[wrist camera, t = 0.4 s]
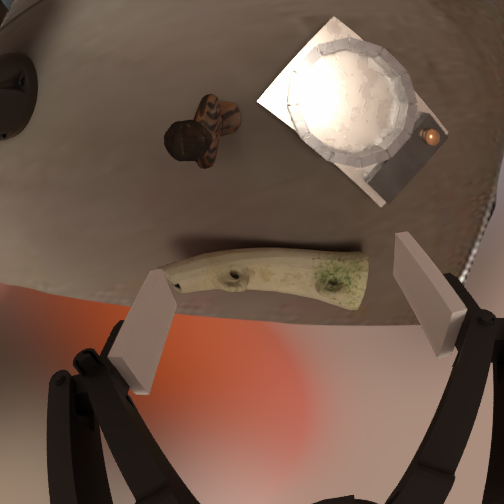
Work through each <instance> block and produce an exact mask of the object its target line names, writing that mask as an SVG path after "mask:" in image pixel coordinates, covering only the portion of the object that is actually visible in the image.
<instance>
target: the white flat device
mask: <svg viewBox="0 0 504 504" xmlns="http://www.w3.org/2000/svg"><path fill="white" fill-rule="evenodd" d="M406 72H407V70H406V69H405V68H404V67H403V66H402V65H401V64H400V63H399V62H398V61H397V60H396V59H395V58H394V57H393V56H392V55H391V54H390V53H389V52H388V51H387V50H386V49H385V48H383V49H382V47H381V46H378V45H375V44H372V43H369V42H366V41H363V40H362V39H361V38H360V37H359V36H358V35H356V34H355V33H354V32H353V31H352V30H351V29H349V28H348V27H347V26H346V25H344V24H343V23H342V22H341V21H339V20H338V19H337V18H336V17H333V18H332V19H331V20H330V21H329V22H328V23H327V24H326V25H325V26H324V27H323V28H322V29H321V30H320V31H319V32H318V33H317V34H316V35H315V36H314V37H313V38H312V39H311V40H310V41H309V42H308V43H307V45H306V46H305V47H304V48H303V49H302V50H301V51H300V52H299V53H298V54H297V55H296V57H295V58H294V59H293V60H292V61H291V62H290V63H289V64H288V66H287V67H286V68H285V69H284V70H283V71H282V72H281V73H280V75H279V76H278V77H277V78H276V79H275V80H274V82H273V83H272V84H271V85H270V86H269V87H268V89H267V90H266V91H265V92H264V93H263V95H262V96H261V97H260V98H259V99H258V101H257V102H258V103H260V104H261V105H262V106H264V107H265V108H266V109H268V110H269V111H270V112H272V113H273V114H274V115H276V116H277V117H278V118H280V119H281V120H282V121H283V122H285V123H286V124H287V125H288V126H290V127H291V128H292V129H294V130H295V131H296V132H297V133H298V135H299V137H300V138H301V139H302V140H303V141H304V142H305V143H307V144H308V145H309V146H310V147H312V148H313V149H314V150H315V151H316V152H317V153H319V154H320V155H321V156H322V157H323V158H324V159H326V160H328V161H329V162H333V163H334V164H335V165H336V166H337V167H339V168H340V169H341V170H342V171H343V172H344V173H345V174H346V175H347V176H348V177H350V178H351V179H352V180H353V181H354V182H355V183H356V184H357V185H358V186H359V187H360V188H361V189H362V190H363V191H365V192H366V193H367V194H368V195H369V196H370V197H371V198H372V199H373V200H374V201H375V202H376V203H377V204H378V205H379V206H380V207H382V206H383V205H384V204H385V203H386V202H387V203H388V204H389V203H390V202H391V201H392V200H393V199H394V198H395V197H396V196H397V195H398V193H399V192H400V191H401V190H402V189H403V188H404V187H405V186H406V185H407V184H408V183H409V181H410V180H411V179H412V178H413V177H414V176H415V175H416V174H417V173H418V172H419V170H420V169H421V168H422V167H423V166H424V165H425V164H426V163H427V161H428V160H429V159H430V158H431V157H432V156H433V155H434V153H435V152H436V151H437V150H438V149H439V148H440V146H441V145H442V144H443V143H444V142H445V141H446V139H447V138H448V136H447V134H448V132H447V130H446V129H445V128H444V126H443V125H442V124H441V122H440V121H439V120H438V119H437V117H436V116H435V115H434V114H433V112H432V111H431V110H430V109H429V108H428V106H427V105H426V104H425V103H424V102H423V100H422V99H421V98H420V97H419V96H418V95H417V94H416V92H415V91H414V89H413V86H412V83H411V79H410V76H409V73H406Z"/></svg>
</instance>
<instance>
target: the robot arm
mask: <svg viewBox="0 0 504 504" xmlns="http://www.w3.org/2000/svg"><path fill="white" fill-rule="evenodd" d="M12 2H13V0H0V26H1V24H2V22H3V19H4V17H5V16H6V14H7V12H9V11H10V8H11V4H12ZM36 96H37V77H36V72H35V68H34V66H33V64H32V62H31V61H30V59H29V58H28V57H27V56H25V55H23V54H21V53H8V54H4V55H1V56H0V141H2V140H6V139H9V138H11V137H14V136H16V135H17V134H19V133H20V132H21V131H22V130H23V129H24V127H25V126H26V125H27V123H28V121H29V119H30V117H31V115H32V112H33V110H34V106H35V102H36ZM393 276H394V277H395V279H396V281H397V282H398V284H399V286H400V288H401V289H402V291H403V293H404V295H405V297H406V298H407V300H408V302H409V304H410V306H411V308H412V309H413V311H414V313H415V315H416V317H417V319H418V321H419V323H420V324H421V326H422V328H423V330H424V332H425V334H426V336H427V338H428V340H429V342H430V344H431V346H432V348H433V350H434V352H435V355H436V357H437V359H439V358H442V357H445V356H448V355H451V354H452V352H453V349H454V346H456V348H457V350H458V354H457V356H456V359H455V361H454V363H453V366H452V367H453V368H452V371H451V374H450V377H449V380H448V383H447V385H446V388H445V390H444V393H443V396H442V398H441V400H440V403H439V405H438V408H437V410H436V413H435V415H434V417H433V419H432V421H431V424H430V426H429V428H428V430H427V432H426V434H425V436H424V438H423V440H422V442H421V444H420V446H419V448H418V450H417V452H416V454H415V456H414V458H413V459H412V461H411V463H410V465H409V467H408V468H407V470H406V472H405V474H404V475H403V477H402V479H401V480H400V482H399V483H398V485H397V486H396V488H395V489H394V491H393V492H392V493H391V495H390V496H389V498H388V499H387V501H386V503H385V504H444V502H445V500H446V498H447V496H448V494H449V492H450V490H451V488H452V486H453V483H454V480H455V475H454V474H455V471H456V468H457V466H458V463H459V461H460V459H461V457H462V454H463V452H464V449H465V447H466V444H467V441H468V439H469V436H470V433H471V431H472V428H473V425H474V422H475V419H476V416H477V413H478V409H479V406H480V403H481V399H482V396H483V392H484V388H485V384H486V380H487V376H488V372H489V367H490V363H493V384H494V402H493V404H494V405H493V427H492V440H491V450H490V458H489V466H488V472H487V479H486V484H485V490H484V494H483V500H482V504H504V318H496V317H495V315H494V314H493V313H492V312H490V311H488V310H484V309H480V308H479V306H478V305H477V303H476V302H475V300H474V299H473V298H472V296H471V295H470V294H469V292H467V290H466V288H465V287H464V286H463V284H462V283H461V282H460V281H459V279H458V278H457V277H455V276H454V275H452V274H451V273H447V274H442V273H441V272H440V271H439V269H438V268H437V267H436V266H435V264H434V263H433V262H432V260H431V259H430V258H429V257H428V255H427V254H426V253H425V252H424V250H423V249H422V248H421V247H420V246H419V244H418V243H417V242H416V241H415V240H414V238H413V237H412V236H411V235H410V234H409V233H408V231H407V232H401V233H395V253H394V269H393ZM176 308H177V304H176V302H175V300H174V297H173V295H172V292H171V290H170V288H169V285H168V283H167V280H166V278H165V275H164V273H163V270H162V269H157V270H151V271H150V272H149V274H148V276H147V278H146V279H145V281H144V283H143V285H142V287H141V289H140V291H139V293H138V295H137V297H136V299H135V301H134V303H133V305H132V307H131V309H130V311H129V313H128V315H127V317H126V319H125V320H120V321H119V322H118V323H117V324H116V325H115V326H114V327H113V329H112V331H111V333H110V336H109V337H108V339H107V342H106V344H105V346H104V348H103V350H102V352H101V354H100V356H99V355H98V354H97V353H96V351H95V350H94V349H91V348H89V349H85V350H82V351H81V352H79V353H78V354H77V355H76V356H75V358H74V360H73V366H74V367H75V368H76V370H77V371H78V372H79V374H78V375H74V376H71V374H70V373H69V372H68V371H67V370H60V371H58V372H56V373H55V374H54V375H53V376H52V377H51V379H50V382H49V393H48V409H47V468H48V483H49V495H50V504H113V501H112V497H111V493H110V488H109V483H108V478H107V473H106V467H105V462H104V456H103V449H102V442H101V435H100V427H101V430H102V432H103V434H104V437H105V439H106V441H107V444H108V446H109V448H110V450H111V452H112V455H113V457H114V459H115V461H116V463H117V465H118V467H119V469H120V471H121V473H122V475H123V477H124V479H125V481H126V483H127V485H128V486H129V488H130V490H131V492H132V494H133V495H134V497H135V499H136V503H135V504H200V503H199V502H198V501H197V500H196V498H195V497H194V496H193V494H192V493H191V492H190V490H189V489H188V488H187V486H186V485H185V484H184V482H183V481H182V480H181V478H180V477H179V475H178V474H177V472H176V471H175V470H174V468H173V467H172V465H171V464H170V462H169V461H168V459H167V458H166V456H165V455H164V453H163V452H162V450H161V449H160V447H159V445H158V444H157V442H156V441H155V439H154V438H153V436H152V434H151V433H150V431H149V429H148V428H147V426H146V424H145V422H144V421H143V419H142V417H141V415H140V414H139V412H138V410H137V408H136V407H135V405H134V403H133V401H132V399H131V397H130V396H129V395H128V391H129V388H131V390H132V391H133V392H134V393H135V394H139V395H149V393H150V389H151V386H152V383H153V380H154V376H155V373H156V370H157V366H158V363H159V360H160V357H161V354H162V350H163V347H164V344H165V341H166V338H167V335H168V332H169V329H170V326H171V323H172V319H173V317H174V314H175V311H176ZM99 425H100V427H99ZM313 504H377V503H375V502H372V501H368V500H361V499H354V495H349V496H344V497H338V498H332V499H325V500H322V501H319V502H316V503H313Z"/></svg>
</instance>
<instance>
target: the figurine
mask: <svg viewBox="0 0 504 504" xmlns="http://www.w3.org/2000/svg"><path fill="white" fill-rule="evenodd" d="M240 120H241V116H240V111H239V109H238V107H237V106H236V105H235V104H233V103H231V102H219V101H218V98H217V97H216V96H215V95H213V94H210V95H206V96H204V97H203V98H202V100H201V102H200V104H199V107H198V109H197V112H196V114H195V117H194V120H186V121H178V122H175V123H173V124H172V125H171V127H170V128H169V129H168V130H167V131H166V133H165V135H164V145H165V147H166V149H167V151H168V153H169V154H170V155H171V156H172V157H173V158H174V159H176V160H178V161H196V162H197V164H198V166H199V167H200V168H203V169H206V168H209V167H212V166H213V164H214V162H215V158H216V154H217V147H218V141H219V136H224V135H227V134H230V133H232V132H235V131H236V130H237V129H238V128H239V126H240Z"/></svg>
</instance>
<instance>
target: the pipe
mask: <svg viewBox="0 0 504 504" xmlns="http://www.w3.org/2000/svg"><path fill="white" fill-rule="evenodd" d="M158 269H162V270H163V273H164V275H165V278H166V280H167V281H168V283H169V284H170V285H171V286H172V287H173V288H174V289H175V290H177V291H178V292H180V293H188V292H195V291H203V290H212V289H223V290H225V291H230V292H239V291H244V290H246V289H248V290H264V291H276V292H282V293H289V294H295V295H300V296H304V297H309V298H314V299H318V300H321V301H324V302H327V303H330V304H333V305H336V306H339V307H342V308H345V309H348V310H357V309H358V308H359V306H360V304H361V301H362V299H363V297H364V293H365V289H366V285H367V278H368V271H369V256H368V254H366V253H363V252H360V251H354V252H331V251H318V250H306V249H291V248H243V249H231V250H224V251H217V252H211V253H205V254H201V255H197V256H194V257H190V258H187V259H183V260H180V261H177V262H173V263H170V264H167V265H164V266H161V267H158Z"/></svg>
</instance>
